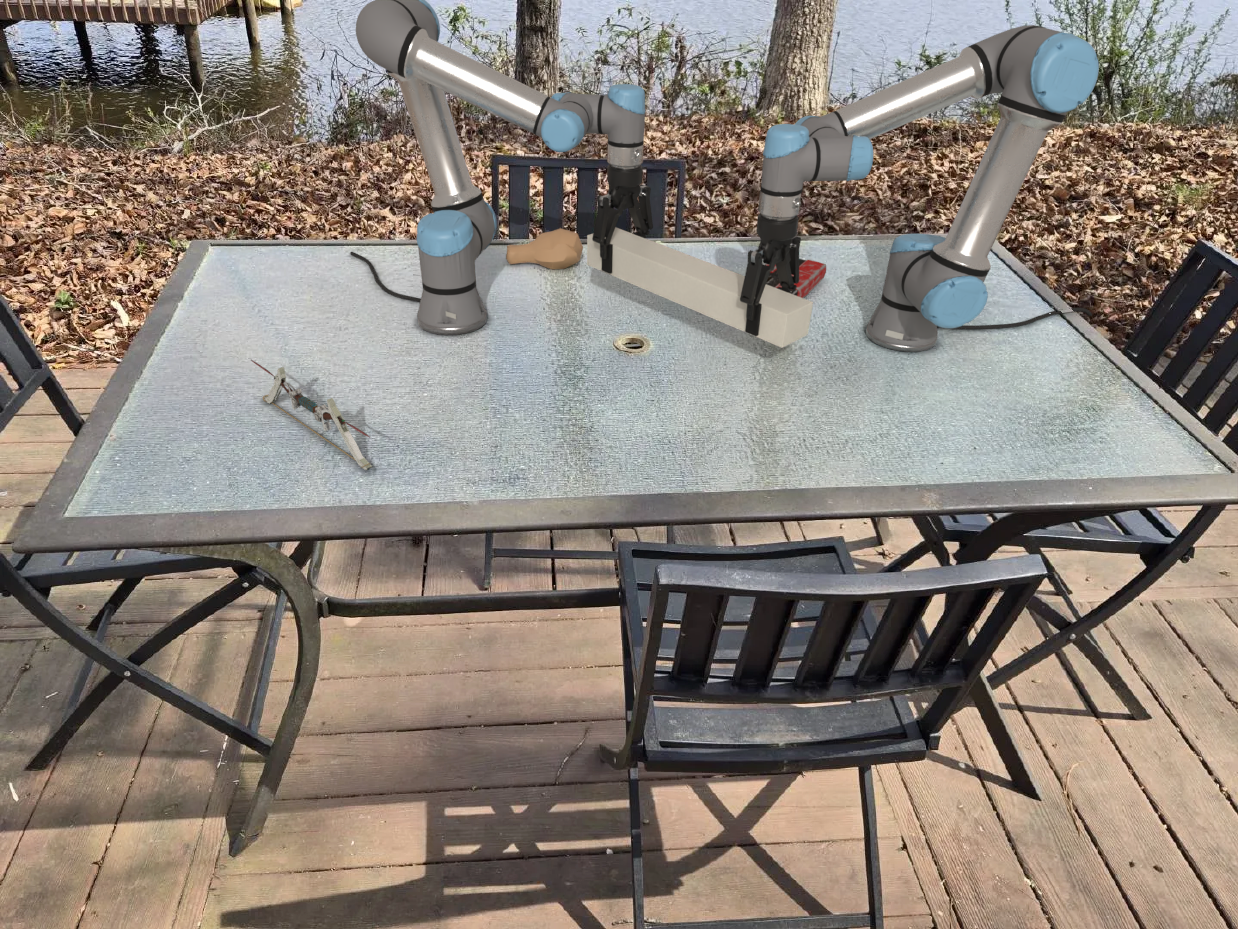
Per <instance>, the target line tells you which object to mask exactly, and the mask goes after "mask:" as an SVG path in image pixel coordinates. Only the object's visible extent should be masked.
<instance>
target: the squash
mask: <svg viewBox="0 0 1238 929" xmlns="http://www.w3.org/2000/svg"><path fill="white" fill-rule="evenodd" d="M583 249H584V245H583V243H582V241H581V239H580V236H579V233H577V232H574V231H571V230H568V229H565V228H561V227H559V228H557V229H554V230H552V231H546V232H542V233H541V234H539V235H537V236H536V237H535V239H534V240H532V241H530V242H528V243H522V244H508V245H506V256H505V260H506V262H508V264H509V265H514V264H524V263H525V264H527V263H531V264H538V265H540V266H541V267H543V268H547V269H550V270H565V269H567V268H569V267H572V266H574V265H575V264H578V263H579V262H580V261H581V258H582V253H583Z"/></svg>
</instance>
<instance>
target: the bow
mask: <svg viewBox="0 0 1238 929" xmlns="http://www.w3.org/2000/svg"><path fill="white" fill-rule="evenodd" d="M250 361H251V362H252V363H253V364H255V365H256V366H257V367H259V368H260V369H262V370H263V371H265V372H266V373H268V374H269V375H271V376H272V377H273V385H272V386H271V388H270V389H269V391H268V394H265V395H263V396H261V398H262V400H263V402H265V403H267V404H269V405H270V404H272V405H273V406H275V407H277V409H279V410H281V411H282V412H284V413H285V414H286V415H288V416H289V417H291V418H292V419H294V420H295V421H296V422H298V423H300V424H301V425H302V426H304V427H306V428H307V429H308V430H309V431H312V432H313V433H314V434H316V435H317V436H318V437H320V438H322V439H323V440H324V441H326V442H328V443H329V444H331V445H332V446H333V447H335V448H336V449H338V450H339V451H340V452H342V453H344V454H345V455H347V456H348V457H349V458H351V459H353V460H354V461H355V462H356V463H357V464H358V465H357V466H359V467H360V468H361V469H363V470H365V471H368V469H369V468H370V469H372V468H373V465H371V462H369V461H368V460H367V459H366V458H365V456H364V455H363V453H362V452H361V449H360V447H359V445H358V444H357V442H356V440H355V439H354V436H353V435H352V434H351V432H350V429H349V427H350V428H351V429H354V430H355V431H357V432H359V433H361V434H362V435H363V436H365V437H368V438H371V436H370V435H369V434H368V433H366V432H364V431H363V430H362V429H360V428H358V427H357V426H355V425H353V424H351V423H348V422H347V421H346V420H345V418H344V417H343V415H342V413H341V411H340V409H339V408H338V406H337V403H336V402H335V400H334V398H333V397H330V398H327V399H326V403H327V405H326V404H322V405H320V406H318V404H317V403H316V402H315V401H313V400H311V399H310V398H309V397H307V396H304V395H303V394H302V393H303V392H302V389H301V388H297V389H296V388H295V387H294V386H293V385H292V384H291V383H290V382H288V381H286V380H287V375H286V370H285V367H284V366H282V367H278V368H277V373H276V375H274V374H273V373H272V372H271V371H270V370H269V369H266V368H265V367H264V366H263V365H262V364H260V363H258V362H257V361H255V360H253V359H250ZM282 390H285V392H286V393H287V394H288V397H289V399H290V401H291V409H292V410H293V411H295V410H297V409H300V408H301V407H302V408H304V409H306V410H307V411H309V412H310V413H312V414H313V415H314V418H315V421H317V422H318V423H319V422H320V423H322V427H323V431H325V432H327V431H330V430H333V429H332V425H331V422H330V420H332V421H333V422H334V424H335V425H336V427H337V430H338V431H339V433H340V435H341V437H342V440H343V441H344V443H345V445H346V446H347V448H348V450H349V452H350V454H351V455H350V454H348V453H347V452H345V451H344V450H343V449H341V448H340V447H338V446H337V445H336V444H334V443H332V442H331V441H330V440H328V439H326V438H325V437H324V436H322V435H321V434H319V433H318V432H316V431H315V430H314V429H312V428H311V427H310V426H308V425H306V424H305V423H303V422H302V421H300V420H299V419H297V417H295V416H293V415H292V414H291V413H289V412H287V411H285V410H284V409H282V408H281V407H280V406H278V405H277V404H275V402H276V401H278V399H279V397H280V395H281V393H282ZM348 426H349V427H348Z"/></svg>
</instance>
